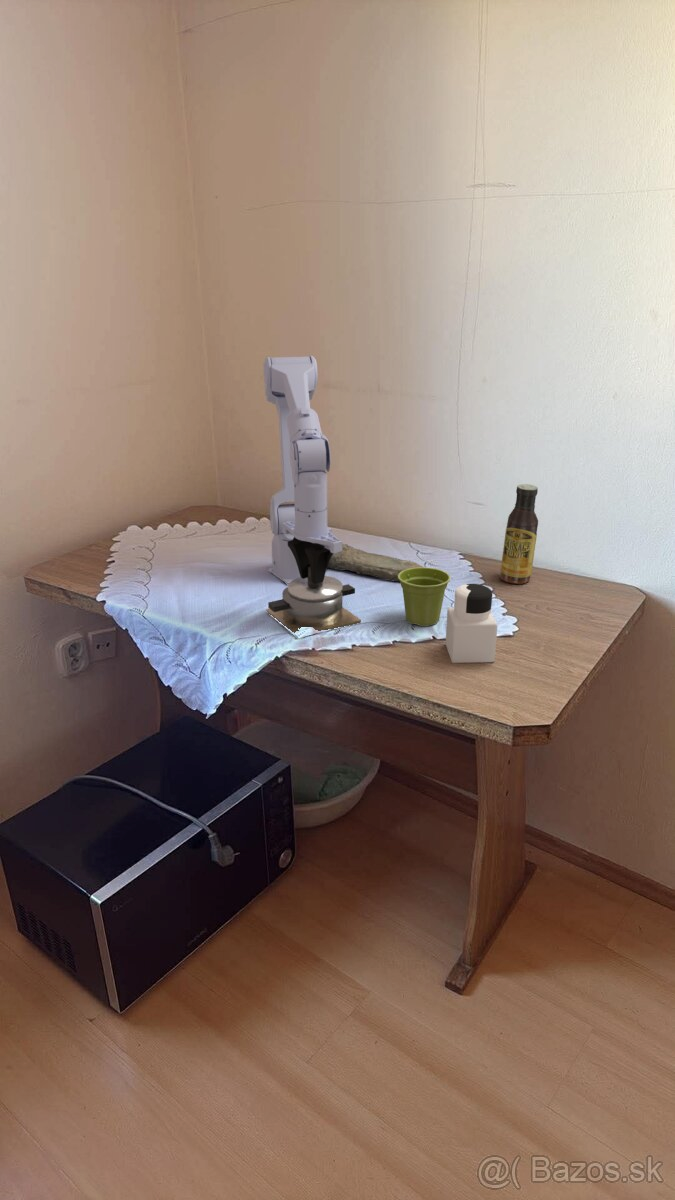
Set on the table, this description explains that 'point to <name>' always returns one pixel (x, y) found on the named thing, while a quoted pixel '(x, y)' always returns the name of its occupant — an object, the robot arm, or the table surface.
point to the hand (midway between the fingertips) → (312, 579)
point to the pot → (312, 612)
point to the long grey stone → (369, 563)
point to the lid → (314, 589)
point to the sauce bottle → (520, 537)
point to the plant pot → (423, 594)
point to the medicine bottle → (471, 625)
